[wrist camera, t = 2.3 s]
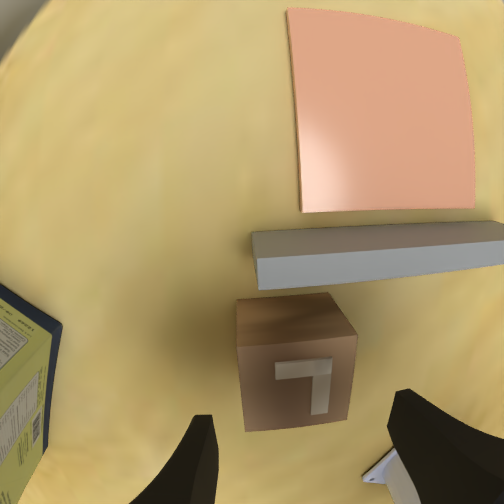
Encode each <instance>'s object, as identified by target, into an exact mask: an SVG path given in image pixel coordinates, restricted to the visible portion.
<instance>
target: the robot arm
mask: <svg viewBox="0 0 504 504" xmlns="http://www.w3.org/2000/svg"><path fill="white" fill-rule="evenodd" d="M387 428H388V431H389V434H390V437H391V440H392V442H393V445H394V448H393V449H392V450H391V451H390V452H389V453H388V454H387V455H386V456H385V457H384V458H383V459H382V460H381V461H380V462H378V463H377V464H376V465H375V466H374V467H373V468H372V469H371V470H370V471H368V472H367V473H366V474H365V475H364V476H363V477H362V479H363V481H364V482H371V483H380V484H386V485H387V487H388V490H389V492H390V494H391V497H392V499H393V501H394V504H504V439H501V438H498V437H495V436H492V435H489V434H486V433H484V432H482V431H479V430H477V429H475V428H472V427H470V426H468V425H466V424H464V423H463V422H461V421H459V420H457V419H455V418H454V417H452V416H450V415H449V414H447V413H445V412H444V411H442V410H441V409H439V408H438V407H436V406H435V405H433V404H432V403H430V402H429V401H427V400H426V399H424V398H423V397H421V396H420V395H418V394H417V393H415V392H414V391H412V390H411V389H405V390H400V391H396V393H395V398H394V402H393V406H392V410H391V413H390V417H389V421H388V424H387ZM218 471H219V453H218V444H217V439H216V434H215V429H214V424H213V418H212V415H195V416H194V417H193V419H192V421H191V423H190V425H189V427H188V429H187V431H186V433H185V435H184V437H183V438H182V440H181V442H180V443H179V445H178V447H177V448H176V450H175V451H174V453H173V455H172V456H171V457H170V459H169V460H168V462H167V463H166V464H165V466H164V467H163V468H162V470H161V471H160V472H159V474H158V475H157V476H156V477H155V478H154V480H153V481H152V482H151V483H150V484H149V485H148V486H147V487H146V488H145V489H144V490H143V491H142V492H141V493H140V494H139V495H138V496H137V497H136V498H135V499H134V500H133V501H131V502H130V503H129V504H214V503H215V495H216V487H217V479H218Z"/></svg>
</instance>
